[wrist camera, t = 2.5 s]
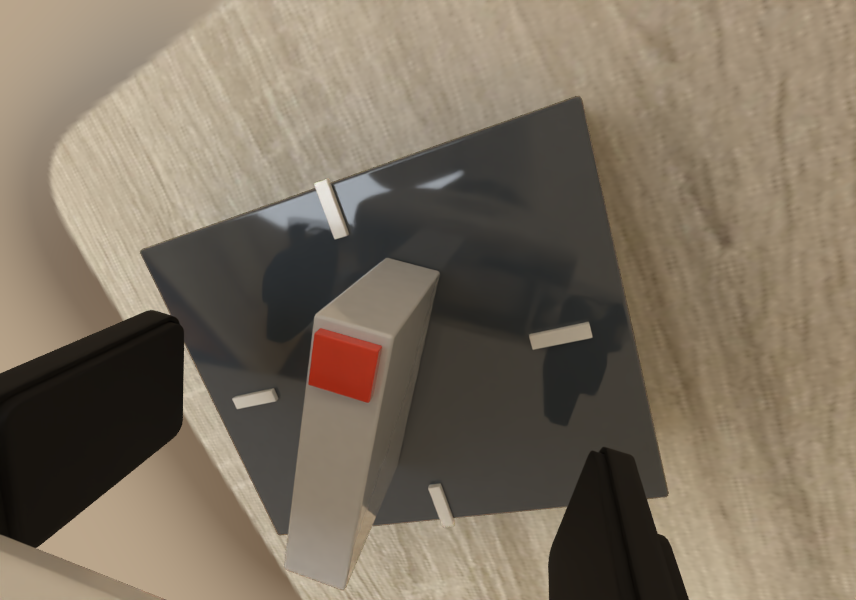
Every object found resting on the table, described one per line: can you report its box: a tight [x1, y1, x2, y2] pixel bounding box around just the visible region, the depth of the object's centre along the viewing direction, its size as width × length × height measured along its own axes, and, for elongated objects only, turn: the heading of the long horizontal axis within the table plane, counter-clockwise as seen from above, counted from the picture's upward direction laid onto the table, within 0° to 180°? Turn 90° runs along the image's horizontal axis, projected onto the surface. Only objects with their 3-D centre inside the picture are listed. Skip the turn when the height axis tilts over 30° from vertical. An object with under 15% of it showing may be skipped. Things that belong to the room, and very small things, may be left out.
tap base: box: [140, 96, 669, 535], centre depth 14 cm, size 12×10×3 cm
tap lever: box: [284, 258, 440, 590], centre depth 10 cm, size 6×1×4 cm, turn 168°
